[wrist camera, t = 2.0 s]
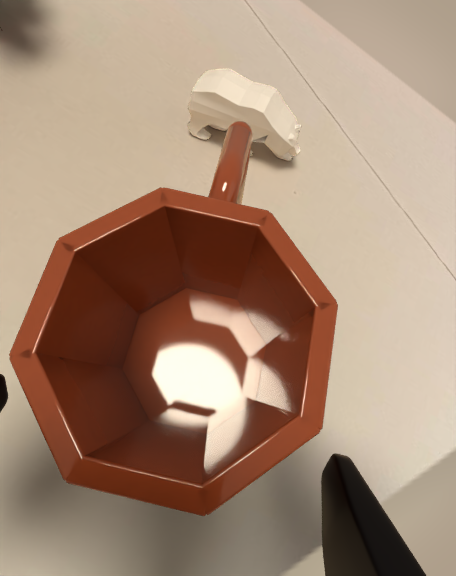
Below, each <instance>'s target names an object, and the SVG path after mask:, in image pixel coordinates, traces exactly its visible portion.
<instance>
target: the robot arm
mask: <svg viewBox="0 0 456 576" xmlns="http://www.w3.org/2000/svg"><path fill="white" fill-rule="evenodd" d="M7 399H8V392H7V387H6V381H5V377H4V376H3V375H2V374H0V412H1V411H2V409H3V408H4V406H5V404H6V402H7ZM321 491H322V547H323V558H324V567H325V576H426V574H425V573H424V571H423V570H422V568H421V567H420V565H419V564H418V562H417V560H416V559H415V557H414V556H413V554H412V553H411V551H410V550H409V548H408V547H407V545H406V544H405V542H404V540H403V539H402V537H401V536H400V534H399V533H398V531H397V530H396V528H395V526H394V525H393V523H392V522H391V520H390V519H389V517H388V516H387V514H386V513H385V511H384V510H383V508H382V506H381V505H380V503H379V502H378V500H377V499H376V497H375V496H374V494H373V493H372V491H371V489H370V488H369V486H368V485H367V483H366V482H365V480H364V479H363V477H362V476H361V474H360V472H359V471H358V469H357V468H356V466H355V465H354V463H353V462H352V460H351V459H350V458H349V457H347V456H344V455H340V454H333V455H332V456H331V457H330V459H329V461H328V463H327V465H326V467H325V468H324V470H323V473H322V479H321Z"/></svg>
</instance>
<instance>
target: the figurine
mask: <svg viewBox="0 0 456 576" xmlns="http://www.w3.org/2000/svg"><path fill="white" fill-rule="evenodd" d="M188 110H189V112H190V115H191V119H190V122H189V123H188V125H187V126H188V128H189V131H190V132H191V134H192V135H193V136H196V137H198V138H200V139H204V140H206V139H208V137H209V138H211V137H210V136H212V135H211V134H210V133H209V132H208V131H206V130H205V129H204V128H203V127H205V126H207V125H210V126H211V127H212V128H215V129H219V130H221V131H226V130H227V129H228V127H229V126H230V125H231V124H232V123H234V122H236V121H243V122H246V123H247V124H248V125H249V126H250V127H251V130H252V134H253V137H252V142H264V143H265V145H266V146H267V147H268V148H269V149H270V150H271V151H272V152H273V153H274V154H275V156H276V157H278V158H280V159H284V160H287V161H291V159H292V157H293V156H295V155H298V154H299V153H300V149H301V148H299V145H298V143H297V139H298V136H299V132H300V131H299V129H300V128H301V124H300V125H298V123H297V119H296V117H295V116H294V114H293V113H292V111H291V110H290V109H289V107H288V106H287V104H286V103H285V101H284V100H283V98H282V96H281V95H280V93H279V91H278V89H276V88H273V87H271V86H269V85H266V84H261V83H256V82H252V81H251V80H249V79H247V78H245V77H244V76H242V75H240V74H238V73H237V72H235V71H233V70H231V69H223V68H221V69H214V70H207V71H206V72H205V73H204V74H203V75H202V76H201V77H200V78H199V79H198V81H197V83H196V84H195V86H194V88H193V90H192V91H191V98H190V102H189V106H188ZM208 140H209V139H208ZM252 153H253V152H252V150H250V155H253V154H252ZM250 157H251V156H250Z"/></svg>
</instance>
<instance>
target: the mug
mask: <svg viewBox="0 0 456 576" xmlns="http://www.w3.org/2000/svg"><path fill="white" fill-rule="evenodd" d="M252 137H253V134H252V130H251V127H250V126H249V125H248V124H247V123H246V122H243V121H236V122H234V123H232V124H231V125H230V126H229V127H228V129H227V132H226V136H225V139H224V143H223V146H222V150H221V154H220V157H219V161H218V164H217V168H216V172H215V175H214V179H213V182H212V186H211V190H210V193H209V197H205V196H200V195H196V194H191V193H187V192H182V191H178V190H173V189H169V188H159V189H157V190H155V191H153V192H151V193H149V194H147V195H145V196H143V197H141V198H139V199H137V200H135V201H133V202H131V203H129V204H126V205H124V206H122V207H120V208H118V209H116V210H114V211H112V212H110V213H108V214H106V215H104V216H102V217H100V218H98V219H96V220H94V221H92V222H90V223H88V224H86V225H84V226H82V227H80V228H78V229H76V230H74V231H72V232H70V233H68V234H66V235H64V236H62V237H60V238H59V240H57V241H56V244H55V246H54V249H53V251H52V253H51V256H50V258H49V260H48V263H47V265H46V268H45V270H44V272H43V275H42V277H41V280H40V282H39V284H38V287H37V289H36V292H35V294H34V296H33V299H32V301H31V303H30V306H29V308H28V311H27V313H26V315H25V318H24V320H23V323H22V325H21V327H20V330H19V332H18V335H17V337H16V339H15V342H14V344H13V347H12V349H11V351H10V354H9V356H10V362H11V364H12V366H13V368H14V371H15V373H16V375H17V377H18V379H19V382H20V384H21V386H22V388H23V391H24V393H25V395H26V397H27V400H28V402H29V404H30V406H31V408H32V411H33V413H34V415H35V417H36V420H37V422H38V424H39V426H40V429H41V431H42V433H43V435H44V437H45V440H46V442H47V444H48V446H49V449H50V451H51V453H52V455H53V458H54V460H55V462H56V464H57V466H58V469H59V471H60V473H61V475H62V478H63V479H64V480H66V482H67V483H68V484H72V485H76V486H81V487H85V488H89V489H93V490H97V491H101V492H105V493H109V494H114V495H118V496H122V497H126V498H130V499H134V500H138V501H142V502H147V503H151V504H155V505H159V506H163V507H167V508H171V509H175V510H180V511H184V512H188V513H192V514H196V515H200V516H205V515H206V514H207V515H209V514H211V513H212V512H213V511H215V510H216V509H218V508H219V507H220V506H222V505H223V504H224V503H226V502H227V501H228V500H230V499H231V498H232V497H234V496H235V495H236V494H238V493H239V492H240V491H242V490H243V489H244V488H246V487H247V486H248V485H250V484H251V483H253V482H254V481H255V480H257V479H258V478H259V477H261V476H262V475H263V474H265V473H266V472H267V471H269V470H270V469H271V468H273V467H274V466H275V465H277V464H278V463H279V462H281V461H282V460H284V459H285V458H286V457H288V456H289V455H290V454H292V453H293V452H294V451H296V450H297V449H298V448H300V447H301V446H302V445H304V444H305V443H306V442H308V441H309V440H310V439H312V438H313V437H314V436H316V435H317V434H319V432H320V430H321V429H322V427H323V419H324V411H325V403H326V395H327V387H328V380H329V372H330V364H331V356H332V348H333V340H334V332H335V325H336V317H337V309H338V304H336V303H337V302H336V300H335V299H334V297H333V296H332V295H331V293H330V292H329V290H328V289H327V288H326V286H325V285H324V284H323V282H322V281H321V280H320V278H319V277H318V276H317V274H316V273H315V271H314V270H313V269H312V267H311V266H310V265H309V263H308V262H307V261H306V259H305V258H304V257H303V255H302V254H301V252H300V251H299V250H298V248H297V247H296V246H295V244H294V243H293V242H292V240H291V239H290V238H289V236H288V235H287V233H286V232H285V231H284V229H283V228H282V227H281V225H280V224H279V223H278V221H277V220H276V218H275V217H274V216H273V214H272V213H271V212H270V213H269V211H267V210H263V209H258V208H254V207H249V206H245V205H241V204H242V198H243V192H244V186H245V180H246V174H247V168H248V162H249V156H250V149H251V143H252Z"/></svg>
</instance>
